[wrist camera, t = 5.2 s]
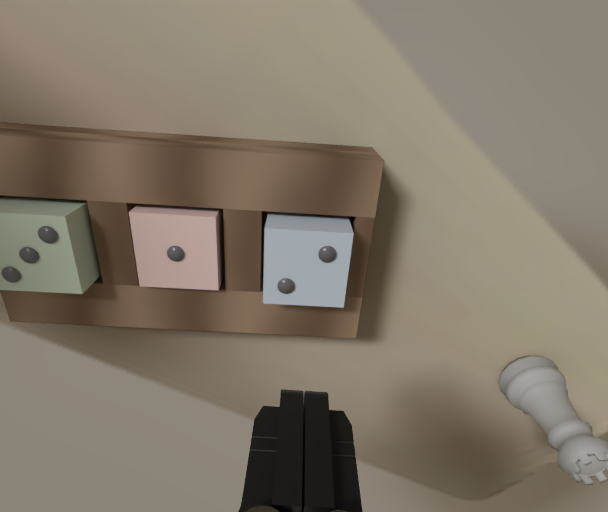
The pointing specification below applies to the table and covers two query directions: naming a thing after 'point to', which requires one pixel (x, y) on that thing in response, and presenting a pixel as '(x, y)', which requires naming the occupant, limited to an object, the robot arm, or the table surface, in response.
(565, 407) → the rook chess piece
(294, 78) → the table surface
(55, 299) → the button panel
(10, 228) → the three-pip button
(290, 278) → the two-pip button
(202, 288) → the one-pip button
